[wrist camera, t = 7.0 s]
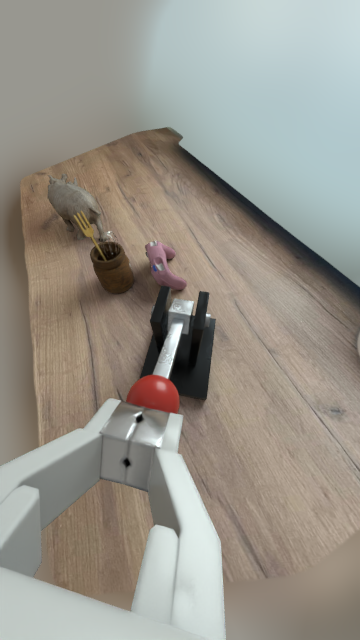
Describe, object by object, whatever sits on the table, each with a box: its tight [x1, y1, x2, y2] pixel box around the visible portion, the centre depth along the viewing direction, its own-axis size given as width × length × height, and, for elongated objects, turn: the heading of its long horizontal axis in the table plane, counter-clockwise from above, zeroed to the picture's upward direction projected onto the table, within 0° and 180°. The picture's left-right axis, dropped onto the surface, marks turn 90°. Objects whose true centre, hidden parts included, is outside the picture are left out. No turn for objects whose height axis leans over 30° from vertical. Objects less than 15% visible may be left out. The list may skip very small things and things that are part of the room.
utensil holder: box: [73, 211, 134, 293], centre depth 30 cm, size 6×6×12 cm
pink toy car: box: [145, 240, 187, 290], centre depth 34 cm, size 10×5×7 cm
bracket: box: [140, 286, 215, 400], centre depth 23 cm, size 12×9×12 cm
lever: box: [126, 298, 194, 414], centre depth 16 cm, size 13×3×3 cm, turn 168°
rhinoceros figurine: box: [48, 174, 109, 242], centre depth 40 cm, size 8×14×15 cm
